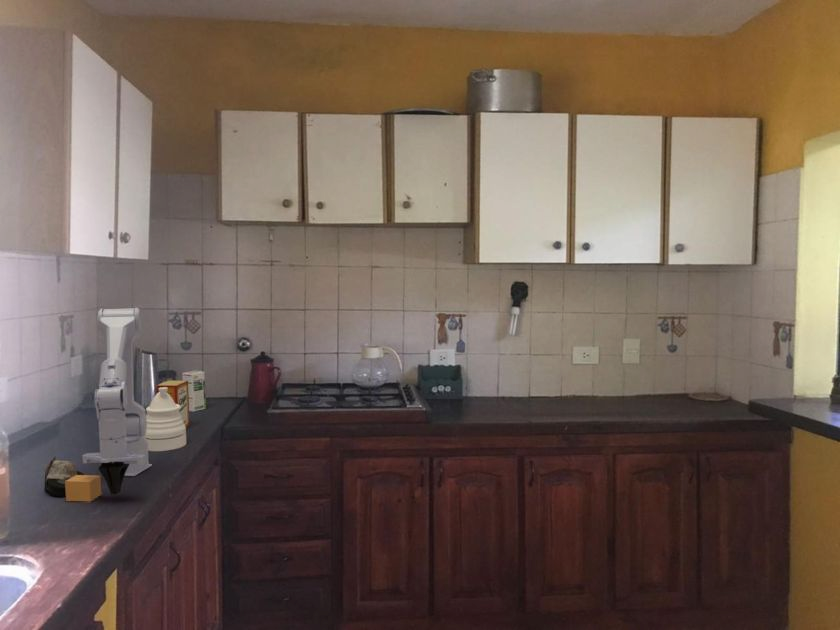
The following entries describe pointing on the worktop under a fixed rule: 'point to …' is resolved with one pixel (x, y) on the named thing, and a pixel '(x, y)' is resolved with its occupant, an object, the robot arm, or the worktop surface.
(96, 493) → the block
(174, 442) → the honey pot
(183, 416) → the baking soda box
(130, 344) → the robot arm
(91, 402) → the worktop surface
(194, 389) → the syrup box
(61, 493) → the caster wheel
